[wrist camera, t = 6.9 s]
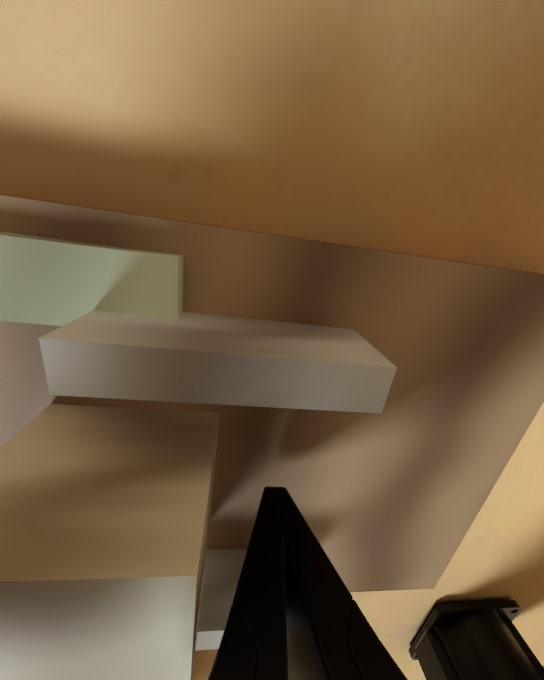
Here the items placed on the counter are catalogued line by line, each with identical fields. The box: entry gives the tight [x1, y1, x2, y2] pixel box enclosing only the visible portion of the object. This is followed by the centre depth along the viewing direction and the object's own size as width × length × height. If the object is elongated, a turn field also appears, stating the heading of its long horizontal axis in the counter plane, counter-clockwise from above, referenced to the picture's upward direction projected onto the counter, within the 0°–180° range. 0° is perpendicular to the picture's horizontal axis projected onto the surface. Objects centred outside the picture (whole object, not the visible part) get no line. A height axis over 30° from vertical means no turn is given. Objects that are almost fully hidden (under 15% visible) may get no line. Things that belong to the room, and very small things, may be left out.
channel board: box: [0, 195, 544, 651], centre depth 9 cm, size 30×16×4 cm, turn 82°
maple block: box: [0, 404, 219, 680], centre depth 7 cm, size 5×5×4 cm
